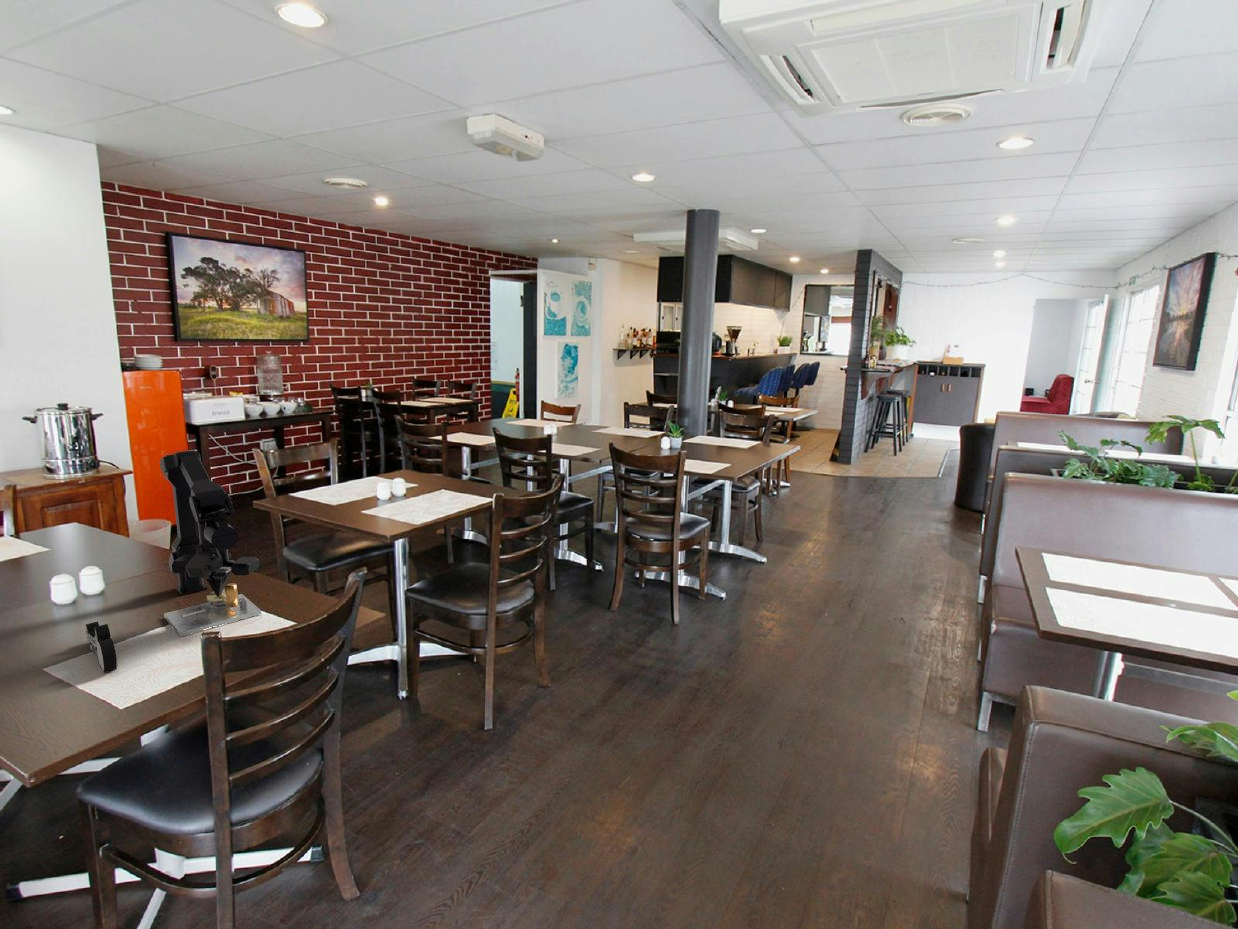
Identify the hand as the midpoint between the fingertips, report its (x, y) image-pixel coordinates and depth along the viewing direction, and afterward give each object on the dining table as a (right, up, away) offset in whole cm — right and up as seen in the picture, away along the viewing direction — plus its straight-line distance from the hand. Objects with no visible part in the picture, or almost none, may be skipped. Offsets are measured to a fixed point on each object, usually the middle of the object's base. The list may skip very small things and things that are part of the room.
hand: (218, 596), depth 163 cm
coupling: (-1, -2, +4) cm, 5 cm away
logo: (-15, -10, -18) cm, 26 cm away
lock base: (-3, -6, +3) cm, 7 cm away
